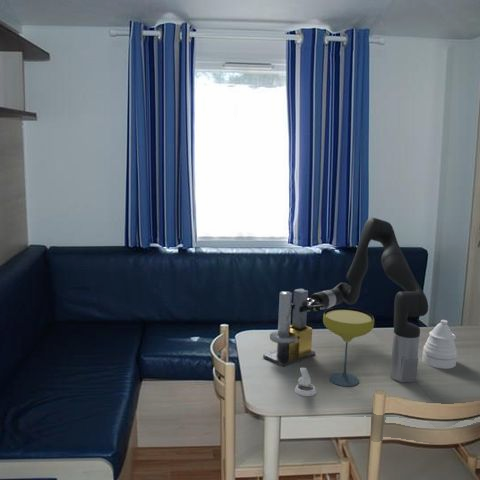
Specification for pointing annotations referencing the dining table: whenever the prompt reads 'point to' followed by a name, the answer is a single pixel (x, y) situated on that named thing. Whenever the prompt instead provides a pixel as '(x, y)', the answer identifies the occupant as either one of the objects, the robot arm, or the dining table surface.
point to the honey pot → (440, 347)
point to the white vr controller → (305, 384)
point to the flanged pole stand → (289, 337)
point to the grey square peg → (298, 317)
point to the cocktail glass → (347, 334)
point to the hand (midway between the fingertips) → (295, 308)
